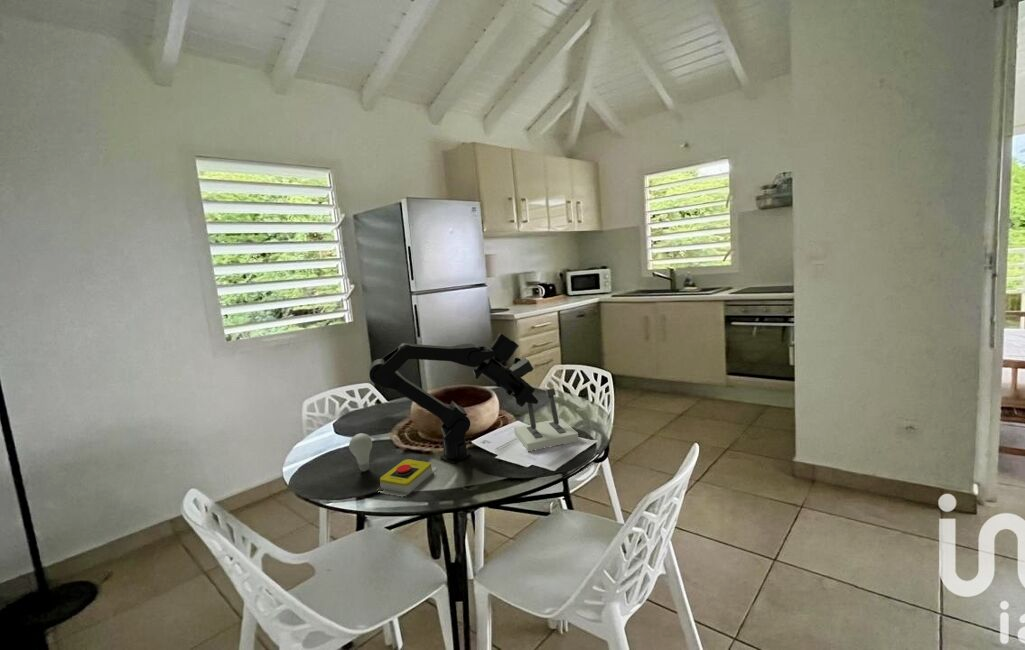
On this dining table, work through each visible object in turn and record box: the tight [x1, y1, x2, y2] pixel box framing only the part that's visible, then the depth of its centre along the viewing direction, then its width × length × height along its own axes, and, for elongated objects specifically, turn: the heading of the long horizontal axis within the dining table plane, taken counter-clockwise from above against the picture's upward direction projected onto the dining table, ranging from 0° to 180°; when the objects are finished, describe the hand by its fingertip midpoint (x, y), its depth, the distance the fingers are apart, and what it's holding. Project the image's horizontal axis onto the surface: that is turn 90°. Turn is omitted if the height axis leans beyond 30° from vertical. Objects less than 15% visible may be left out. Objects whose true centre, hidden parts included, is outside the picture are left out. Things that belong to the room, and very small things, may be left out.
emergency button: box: [377, 458, 438, 498], centre depth 115 cm, size 9×4×15 cm
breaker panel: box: [513, 388, 580, 452], centre depth 132 cm, size 16×13×14 cm
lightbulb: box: [348, 432, 373, 472], centre depth 121 cm, size 6×6×11 cm
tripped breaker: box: [526, 392, 537, 429], centre depth 133 cm, size 2×2×11 cm
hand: (537, 402), depth 131 cm, fingers closed
